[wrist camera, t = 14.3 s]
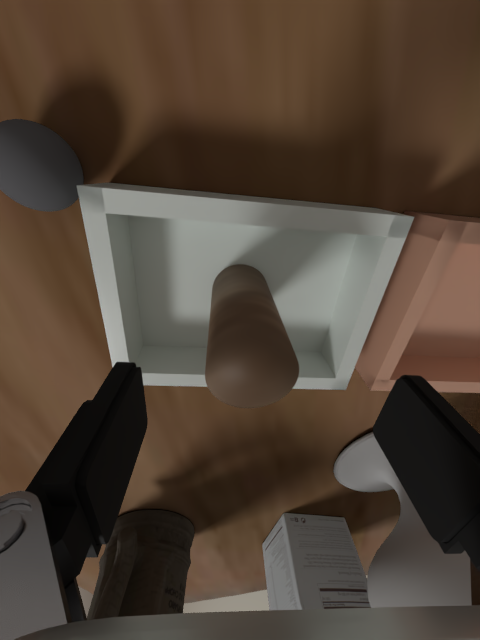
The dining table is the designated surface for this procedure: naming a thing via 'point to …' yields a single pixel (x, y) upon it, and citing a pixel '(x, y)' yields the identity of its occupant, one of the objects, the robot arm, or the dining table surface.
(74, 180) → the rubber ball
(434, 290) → the terracotta tub
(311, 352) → the grey tub
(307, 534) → the supplement box
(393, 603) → the chalice
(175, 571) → the beer stein
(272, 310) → the walnut peg
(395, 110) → the dining table surface
